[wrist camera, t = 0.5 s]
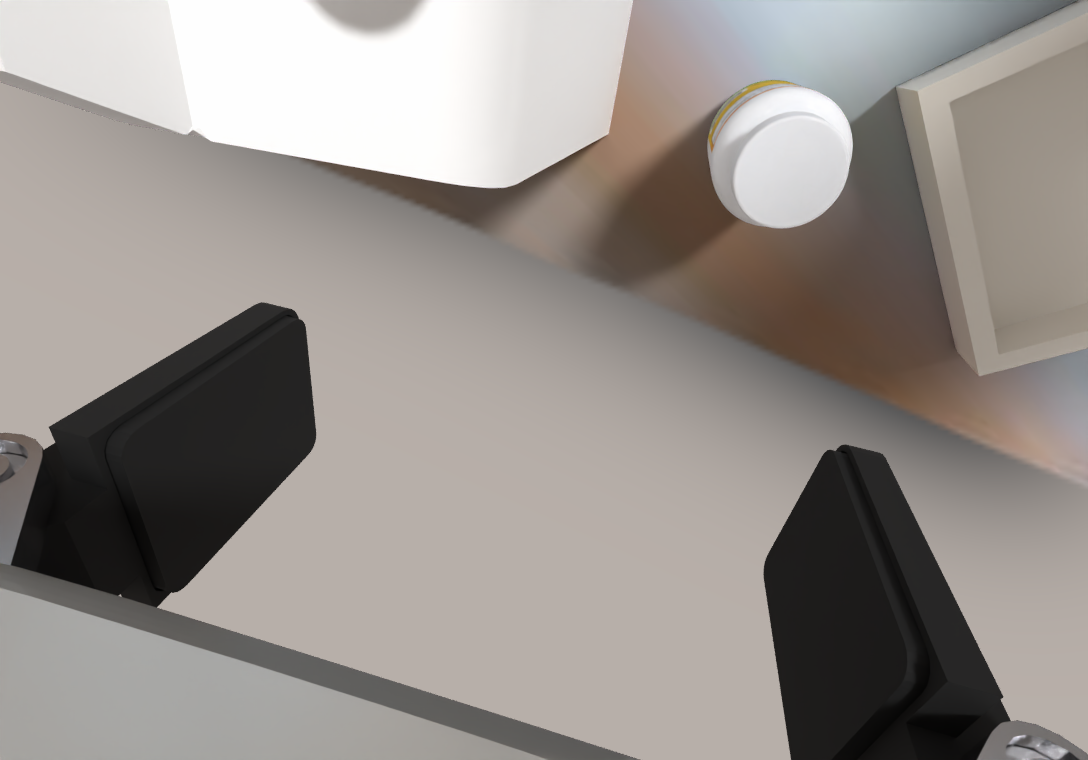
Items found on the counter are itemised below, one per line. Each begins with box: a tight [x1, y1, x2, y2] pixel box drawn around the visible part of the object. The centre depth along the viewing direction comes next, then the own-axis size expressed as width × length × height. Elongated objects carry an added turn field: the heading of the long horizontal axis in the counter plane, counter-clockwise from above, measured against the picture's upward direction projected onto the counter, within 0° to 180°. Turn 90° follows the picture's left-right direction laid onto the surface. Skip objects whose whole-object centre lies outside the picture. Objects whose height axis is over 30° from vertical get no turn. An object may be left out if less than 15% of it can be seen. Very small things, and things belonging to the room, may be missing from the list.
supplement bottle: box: [707, 80, 853, 229], centre depth 24 cm, size 5×5×10 cm
